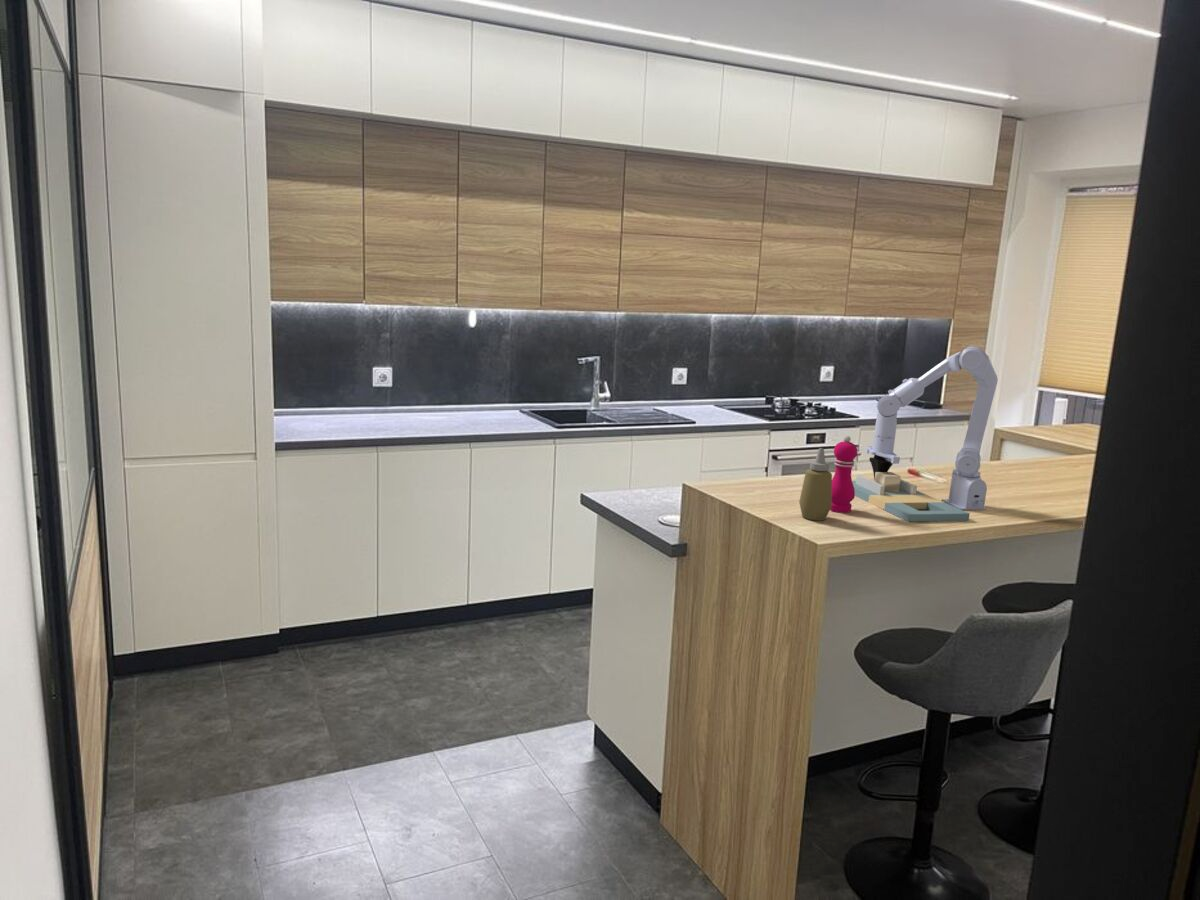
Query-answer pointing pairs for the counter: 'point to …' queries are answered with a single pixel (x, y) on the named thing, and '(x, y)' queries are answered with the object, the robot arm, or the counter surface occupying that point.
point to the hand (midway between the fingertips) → (878, 482)
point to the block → (888, 481)
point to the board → (907, 502)
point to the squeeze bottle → (817, 489)
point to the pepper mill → (843, 476)
